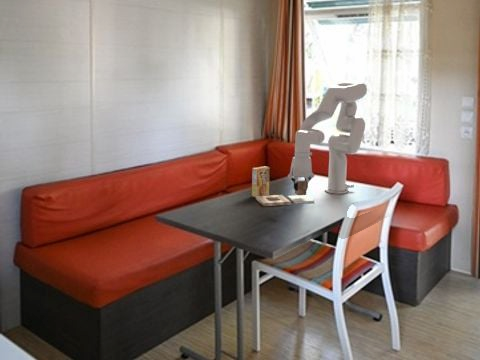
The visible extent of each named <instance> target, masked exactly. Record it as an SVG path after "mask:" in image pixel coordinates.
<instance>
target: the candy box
mask: <svg viewBox="0 0 480 360" xmlns="http://www.w3.org/2000/svg"><path fill="white" fill-rule="evenodd" d="M270 172H271V171H270V167H269V166H265V165H264V166H258V167H252V172H251V173H252V176H251V178H252V179H251V180H252V181H251V196H252V197H254V198H256V196H269V195H270Z"/></svg>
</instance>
